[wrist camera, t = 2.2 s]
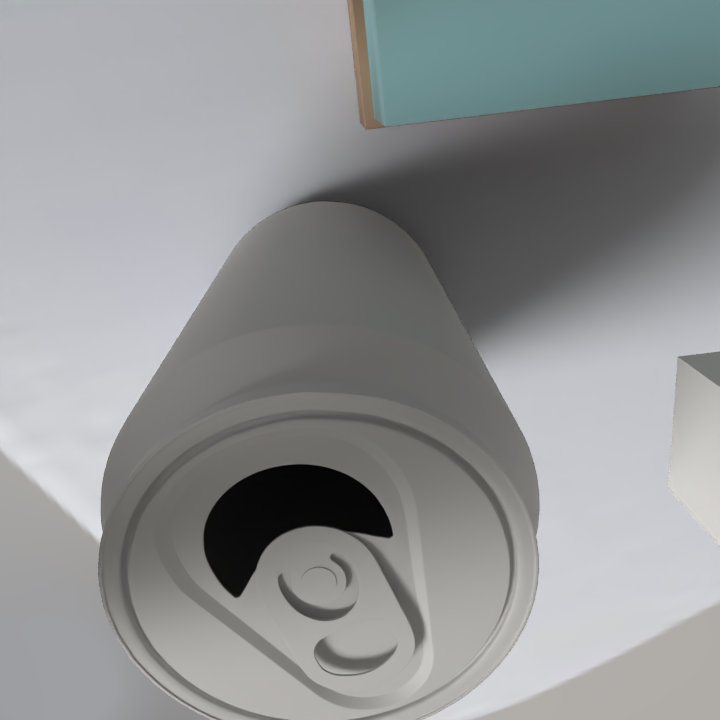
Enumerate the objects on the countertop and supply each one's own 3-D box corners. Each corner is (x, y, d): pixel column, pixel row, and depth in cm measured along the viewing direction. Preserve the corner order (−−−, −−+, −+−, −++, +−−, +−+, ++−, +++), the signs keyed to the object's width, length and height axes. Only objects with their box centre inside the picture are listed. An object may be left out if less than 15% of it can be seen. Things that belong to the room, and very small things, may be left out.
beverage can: (383, 157, 18) (465, 265, 7) (467, 354, 20) (629, 678, 9) (179, 254, 19) (-51, 494, 7) (282, 432, 21) (222, 818, 10)
